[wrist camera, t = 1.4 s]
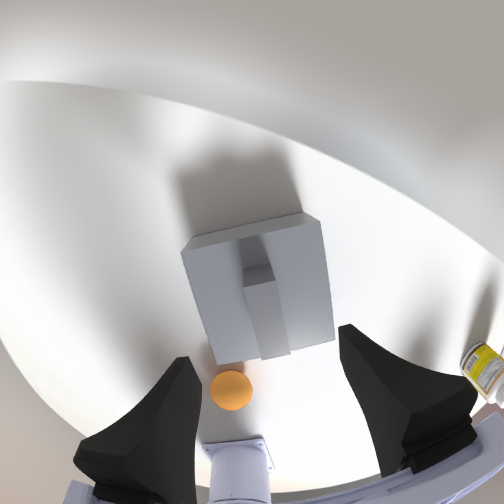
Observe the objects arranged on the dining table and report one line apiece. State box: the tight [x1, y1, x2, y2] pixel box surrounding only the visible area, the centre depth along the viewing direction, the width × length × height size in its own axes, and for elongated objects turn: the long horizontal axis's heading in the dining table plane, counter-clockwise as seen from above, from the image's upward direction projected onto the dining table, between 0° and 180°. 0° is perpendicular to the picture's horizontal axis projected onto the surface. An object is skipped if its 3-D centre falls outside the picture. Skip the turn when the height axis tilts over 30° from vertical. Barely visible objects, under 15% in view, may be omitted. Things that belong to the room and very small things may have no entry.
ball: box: [210, 371, 252, 410], centre depth 24 cm, size 4×4×4 cm
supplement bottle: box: [460, 343, 504, 408], centre depth 23 cm, size 6×6×10 cm
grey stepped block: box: [180, 212, 335, 365], centre depth 19 cm, size 9×9×8 cm
